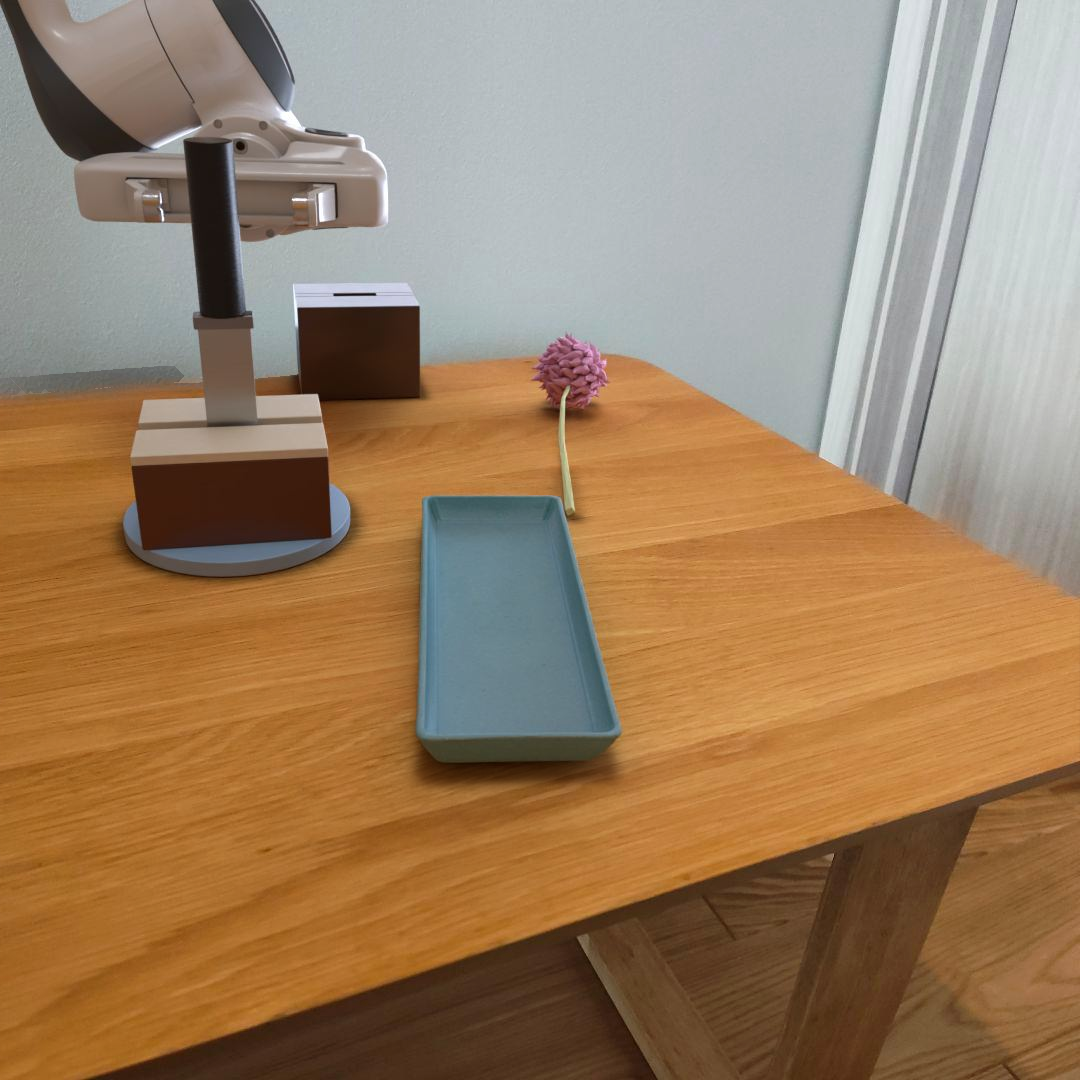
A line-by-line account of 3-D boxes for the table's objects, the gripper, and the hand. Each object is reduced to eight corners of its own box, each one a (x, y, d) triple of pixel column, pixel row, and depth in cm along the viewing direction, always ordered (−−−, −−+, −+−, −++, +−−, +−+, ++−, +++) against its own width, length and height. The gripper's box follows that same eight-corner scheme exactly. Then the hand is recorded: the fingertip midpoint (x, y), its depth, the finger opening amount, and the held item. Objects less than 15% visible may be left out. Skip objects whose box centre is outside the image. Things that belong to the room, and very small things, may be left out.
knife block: (302, 401, 89) (297, 307, 86) (297, 371, 96) (292, 283, 92) (420, 397, 92) (420, 305, 88) (407, 368, 98) (407, 282, 95)
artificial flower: (631, 551, 74) (609, 385, 94) (624, 466, 70) (602, 312, 90) (536, 561, 74) (534, 393, 94) (524, 477, 70) (524, 321, 90)
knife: (212, 521, 66) (173, 141, 56) (213, 503, 69) (176, 135, 58) (267, 517, 67) (240, 143, 57) (267, 500, 69) (240, 137, 59)
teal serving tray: (421, 522, 70) (421, 488, 69) (558, 523, 71) (561, 489, 70) (414, 783, 47) (414, 738, 46) (619, 780, 48) (624, 735, 46)
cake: (113, 585, 61) (96, 473, 57) (134, 486, 73) (121, 389, 69) (360, 567, 64) (357, 460, 61) (341, 475, 76) (338, 382, 73)
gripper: (91, 125, 75) (40, 151, 63) (384, 135, 78) (389, 162, 66) (104, 217, 78) (56, 259, 65) (386, 223, 81) (391, 264, 69)
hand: (226, 211), depth 66 cm, fingers open, 8 cm apart
